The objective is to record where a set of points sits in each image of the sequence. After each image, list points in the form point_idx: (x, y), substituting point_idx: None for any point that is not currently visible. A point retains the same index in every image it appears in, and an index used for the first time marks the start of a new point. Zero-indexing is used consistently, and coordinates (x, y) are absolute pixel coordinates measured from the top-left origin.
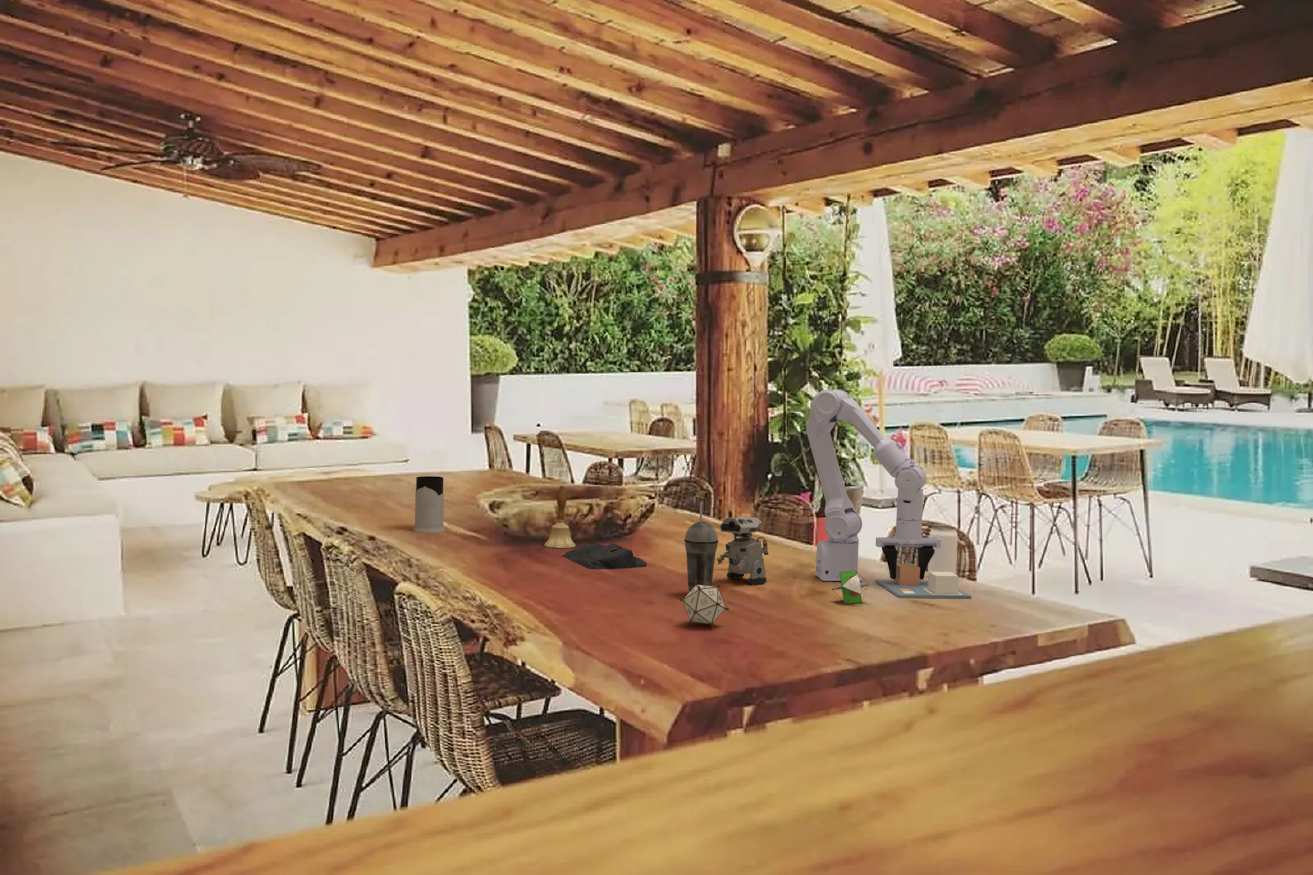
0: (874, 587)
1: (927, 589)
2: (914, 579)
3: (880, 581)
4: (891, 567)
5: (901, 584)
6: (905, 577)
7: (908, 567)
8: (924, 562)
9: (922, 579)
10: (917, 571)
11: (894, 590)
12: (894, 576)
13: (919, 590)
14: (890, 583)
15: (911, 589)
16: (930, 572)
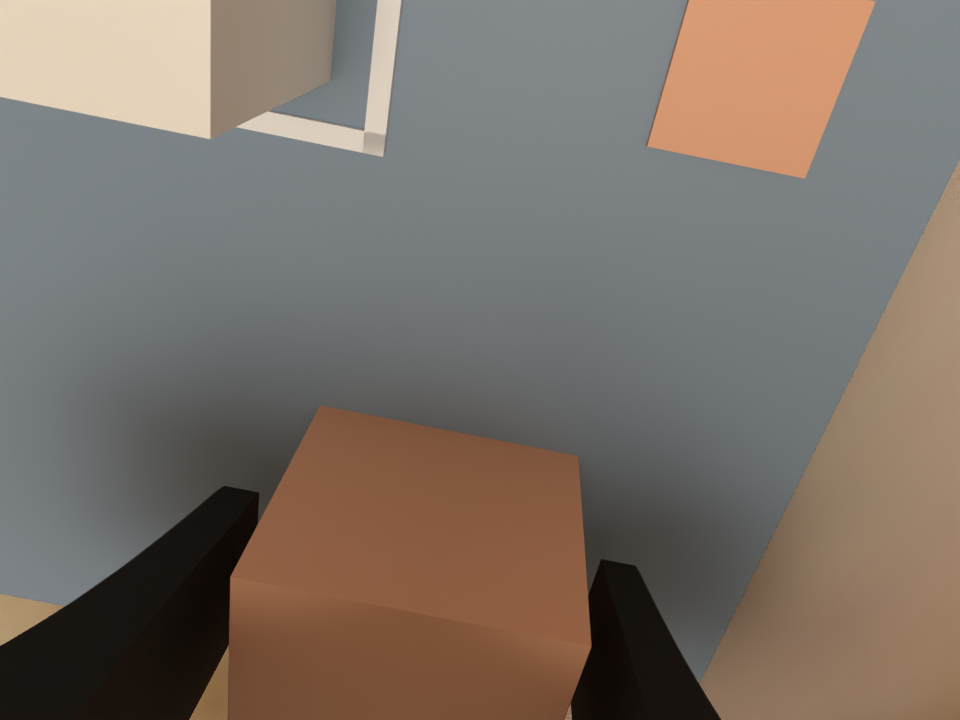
0: (890, 497)
1: (331, 93)
2: (370, 464)
3: (695, 646)
4: (703, 706)
5: (555, 456)
6: (503, 505)
7: (443, 619)
8: (92, 659)
9: (232, 488)
10: (297, 535)
11: (949, 89)
12: (626, 585)
13: (509, 23)
14: (645, 544)
15: (601, 128)
16: (199, 10)
